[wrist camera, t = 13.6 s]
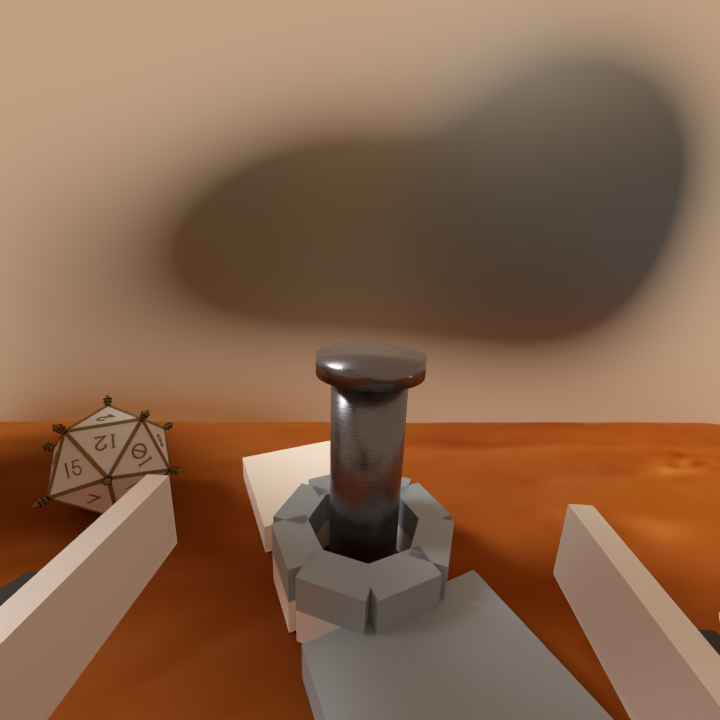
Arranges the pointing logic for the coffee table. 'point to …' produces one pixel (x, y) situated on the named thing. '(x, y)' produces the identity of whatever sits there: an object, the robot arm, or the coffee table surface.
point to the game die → (105, 458)
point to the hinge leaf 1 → (268, 494)
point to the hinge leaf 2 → (413, 627)
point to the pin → (367, 442)
